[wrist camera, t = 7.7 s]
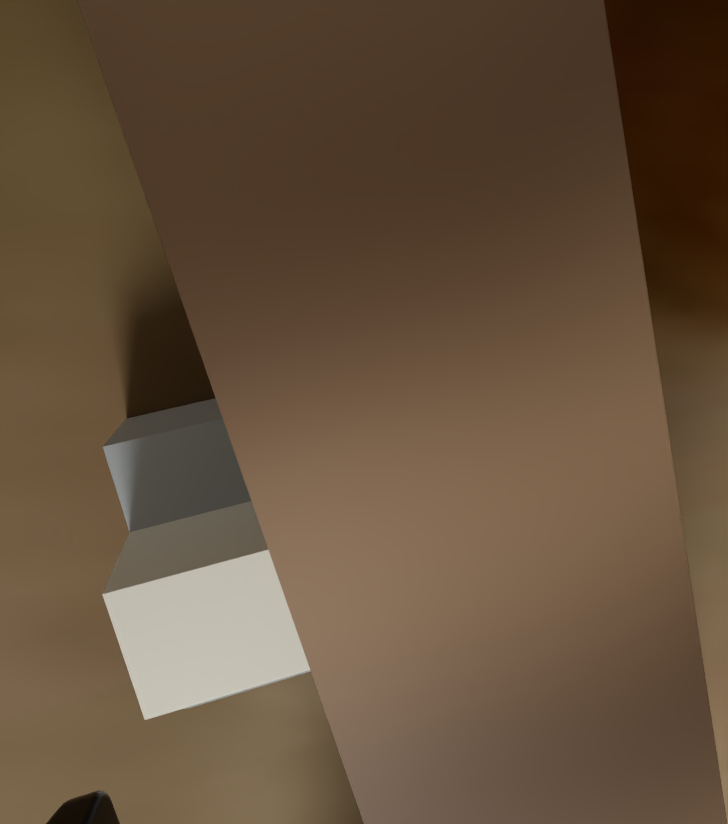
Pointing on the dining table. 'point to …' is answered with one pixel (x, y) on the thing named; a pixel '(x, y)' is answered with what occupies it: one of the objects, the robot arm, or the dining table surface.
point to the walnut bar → (436, 386)
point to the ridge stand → (193, 566)
